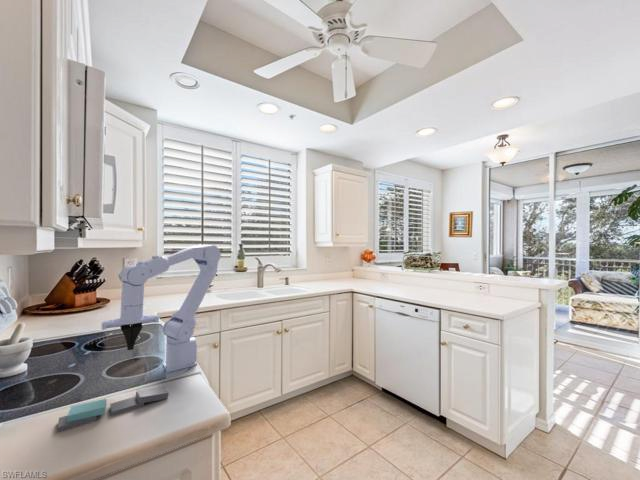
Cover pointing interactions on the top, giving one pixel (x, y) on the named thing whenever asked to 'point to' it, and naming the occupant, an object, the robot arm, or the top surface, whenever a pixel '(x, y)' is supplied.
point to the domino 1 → (86, 410)
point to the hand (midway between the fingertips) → (130, 348)
